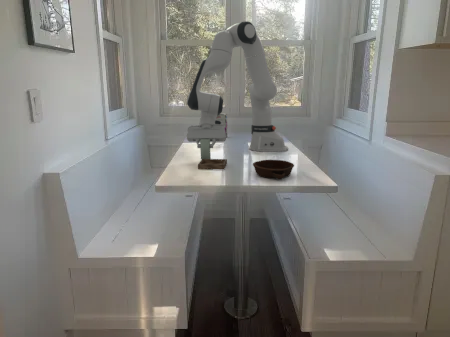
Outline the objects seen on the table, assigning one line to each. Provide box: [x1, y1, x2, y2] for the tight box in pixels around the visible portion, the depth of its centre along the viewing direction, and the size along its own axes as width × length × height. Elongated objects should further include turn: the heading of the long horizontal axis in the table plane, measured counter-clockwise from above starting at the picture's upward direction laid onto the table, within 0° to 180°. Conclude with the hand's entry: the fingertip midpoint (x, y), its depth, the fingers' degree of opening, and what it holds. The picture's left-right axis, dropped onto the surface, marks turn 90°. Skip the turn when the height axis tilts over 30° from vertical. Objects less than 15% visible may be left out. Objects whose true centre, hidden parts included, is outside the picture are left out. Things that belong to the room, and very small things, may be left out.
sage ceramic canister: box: [199, 139, 212, 160], centre depth 180 cm, size 5×5×10 cm
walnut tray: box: [197, 158, 228, 170], centre depth 168 cm, size 12×12×2 cm
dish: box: [252, 159, 295, 180], centre depth 152 cm, size 18×22×5 cm
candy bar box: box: [216, 113, 228, 138], centre depth 254 cm, size 11×5×16 cm, turn 80°
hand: (205, 147), depth 180 cm, fingers closed on sage ceramic canister, 5 cm apart
